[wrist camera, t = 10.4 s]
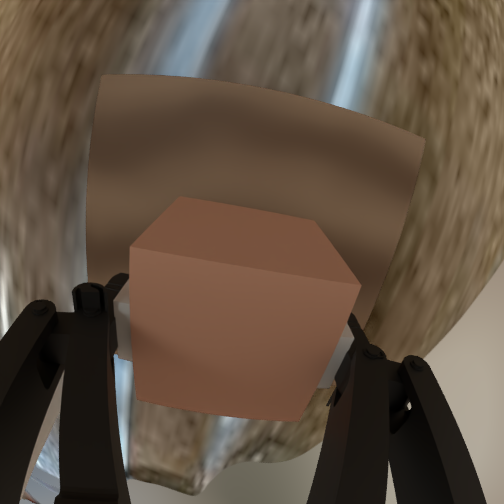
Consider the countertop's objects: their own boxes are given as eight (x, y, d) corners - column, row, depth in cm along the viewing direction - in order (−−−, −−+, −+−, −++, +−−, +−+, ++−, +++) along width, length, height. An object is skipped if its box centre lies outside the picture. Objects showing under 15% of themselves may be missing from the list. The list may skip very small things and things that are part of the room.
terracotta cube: (179, 196, 14) (129, 246, 8) (314, 220, 15) (361, 285, 9) (169, 311, 17) (136, 399, 11) (282, 329, 18) (298, 421, 11)
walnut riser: (136, 87, 19) (101, 74, 13) (385, 136, 20) (425, 139, 15) (119, 309, 26) (96, 348, 20) (321, 342, 28) (335, 385, 22)
